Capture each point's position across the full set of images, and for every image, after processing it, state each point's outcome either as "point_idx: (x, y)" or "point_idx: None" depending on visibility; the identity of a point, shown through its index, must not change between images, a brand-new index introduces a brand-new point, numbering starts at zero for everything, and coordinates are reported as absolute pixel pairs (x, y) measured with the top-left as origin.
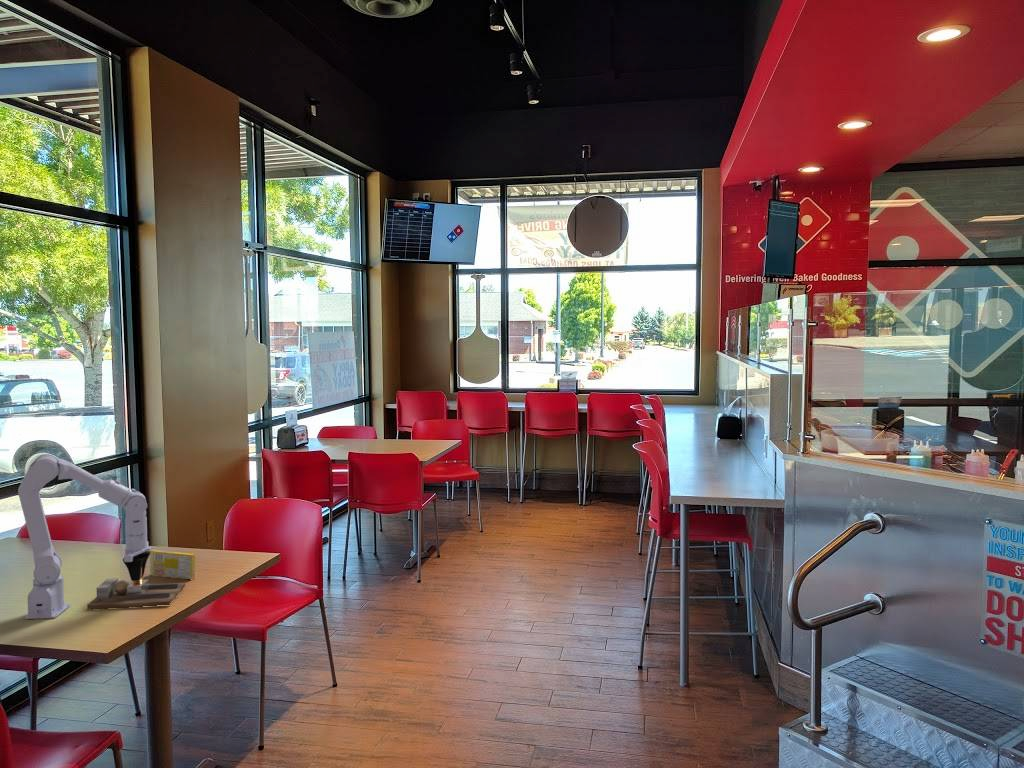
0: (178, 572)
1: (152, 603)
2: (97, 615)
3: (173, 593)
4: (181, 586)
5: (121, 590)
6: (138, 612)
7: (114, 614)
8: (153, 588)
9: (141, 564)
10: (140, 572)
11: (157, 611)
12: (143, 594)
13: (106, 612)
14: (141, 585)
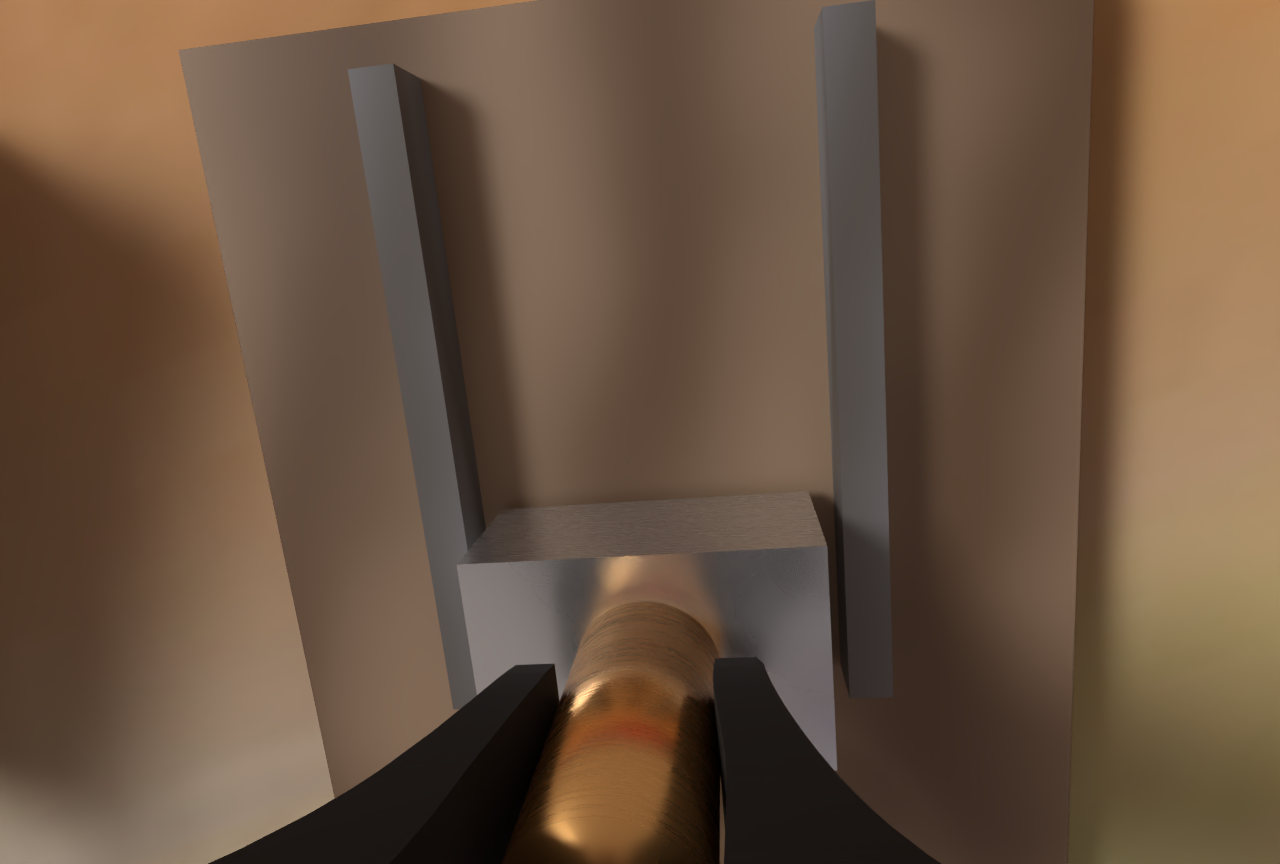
0: None
1: (1075, 217)
2: (1250, 803)
3: (684, 30)
4: (350, 39)
5: None
6: (1240, 339)
7: (1256, 624)
8: (471, 449)
9: (832, 852)
10: (748, 723)
11: (1253, 62)
12: (884, 447)
13: (1156, 742)
14: (778, 561)
